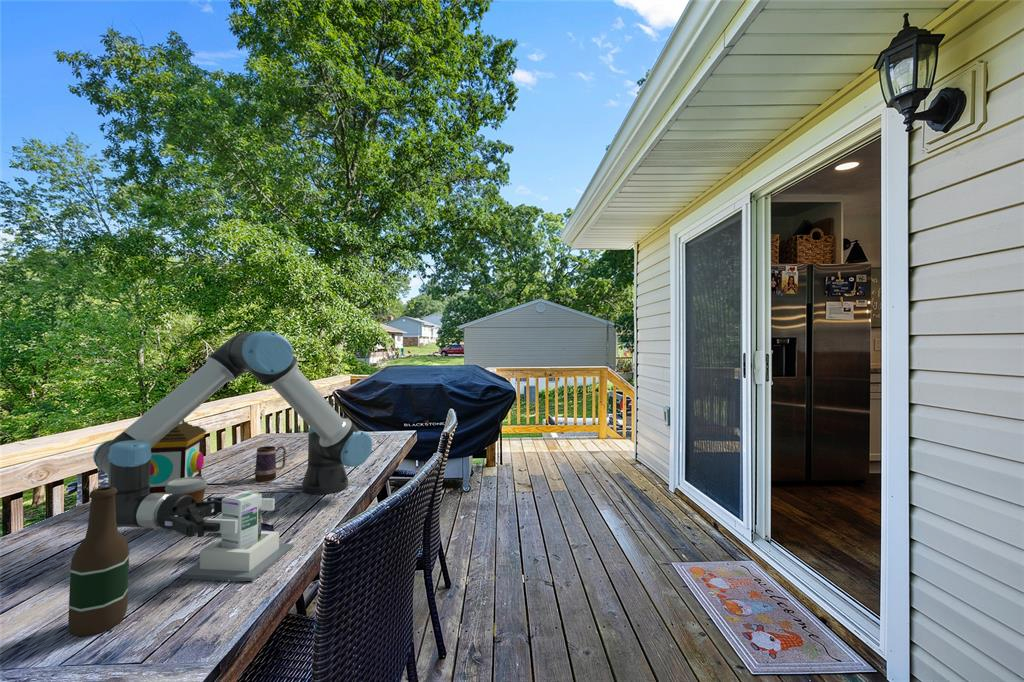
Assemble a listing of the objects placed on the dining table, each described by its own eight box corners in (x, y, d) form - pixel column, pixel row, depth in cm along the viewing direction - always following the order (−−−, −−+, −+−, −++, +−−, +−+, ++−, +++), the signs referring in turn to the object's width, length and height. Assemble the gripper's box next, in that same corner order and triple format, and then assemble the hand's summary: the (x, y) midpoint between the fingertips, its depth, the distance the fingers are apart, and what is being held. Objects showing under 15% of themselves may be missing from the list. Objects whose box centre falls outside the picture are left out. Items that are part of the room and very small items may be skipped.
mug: (254, 483, 161) (255, 449, 162) (253, 478, 167) (254, 445, 168) (286, 479, 167) (287, 446, 167) (284, 474, 173) (285, 443, 173)
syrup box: (239, 566, 99) (241, 500, 99) (219, 561, 101) (221, 497, 101) (261, 555, 105) (262, 492, 105) (242, 551, 107) (244, 489, 107)
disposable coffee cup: (183, 533, 118) (185, 487, 118) (154, 529, 120) (155, 484, 120) (214, 520, 127) (215, 477, 127) (186, 516, 129) (187, 475, 129)
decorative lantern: (211, 489, 153) (214, 402, 154) (190, 510, 134) (193, 410, 135) (140, 494, 147) (143, 403, 147) (108, 516, 128) (111, 411, 128)
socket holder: (231, 545, 112) (232, 525, 112) (293, 548, 111) (294, 528, 111) (180, 578, 96) (180, 554, 96) (252, 582, 95) (253, 558, 95)
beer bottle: (93, 611, 83) (98, 482, 84) (138, 610, 84) (142, 482, 84) (54, 639, 76) (59, 495, 76) (103, 637, 76) (109, 495, 76)
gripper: (207, 508, 117) (286, 511, 115) (117, 551, 92) (217, 556, 91) (208, 479, 117) (286, 482, 116) (118, 514, 92) (218, 519, 91)
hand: (256, 514), depth 103 cm, fingers open, 13 cm apart
